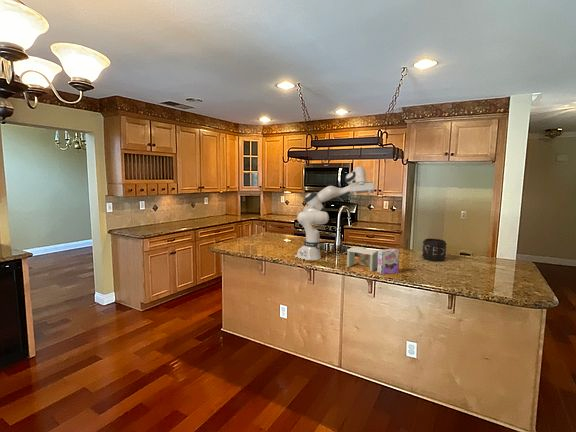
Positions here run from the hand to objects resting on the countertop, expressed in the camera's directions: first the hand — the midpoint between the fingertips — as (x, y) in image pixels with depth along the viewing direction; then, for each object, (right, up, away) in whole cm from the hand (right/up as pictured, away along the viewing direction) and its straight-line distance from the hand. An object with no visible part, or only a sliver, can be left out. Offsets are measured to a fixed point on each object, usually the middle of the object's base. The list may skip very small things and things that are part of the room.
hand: (362, 196), depth 276 cm
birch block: (+1, -53, -15) cm, 55 cm away
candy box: (+10, -56, -36) cm, 68 cm away
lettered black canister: (+58, -52, +1) cm, 78 cm away
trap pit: (-10, -55, -30) cm, 64 cm away
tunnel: (-6, -54, -24) cm, 60 cm away
